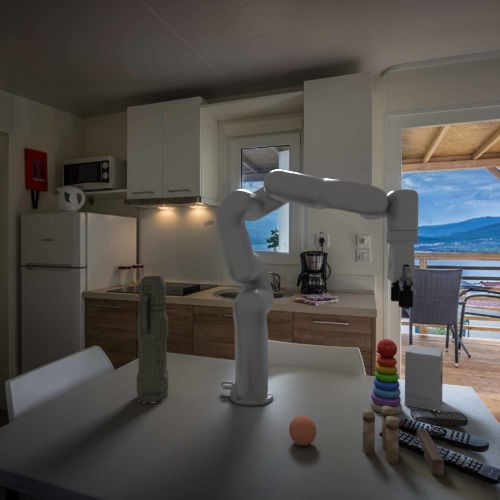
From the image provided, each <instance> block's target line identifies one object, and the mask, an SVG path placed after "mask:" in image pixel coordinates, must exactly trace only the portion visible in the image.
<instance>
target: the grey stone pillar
mask: <svg viewBox="0 0 500 500" xmlns="http://www.w3.org/2000/svg"><path fill="white" fill-rule="evenodd" d="M166 304H167V285H166V283H165V280H164V277H162V276H161V275H148V276H144V277H142V278H141V280H140V283H139V286H138V305H139V308H138V315H137V317H136V340H137V341H138V371H137V376H136V392H137V394H136V396H137V398H136V400H137V399H138V400H139V401H141V402H145V403H151V402H158V401H161V400H163V399H165V398H166V397H167V396H168V397H169V391H168V389H169V372H168V371H169V370H168V367H167V366H168V365H167V357H168V355H167V350H168V349H167V345H168V344H167V341H168V337H169V317H168V314H167V308H166ZM168 397H167V398H168ZM138 400H137V401H138ZM165 400H166V399H165ZM158 403H159V402H158Z"/></svg>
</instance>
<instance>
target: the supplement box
mask: <svg viewBox="0 0 500 500" xmlns="http://www.w3.org/2000/svg"><path fill="white" fill-rule="evenodd" d="M443 352H444V350H443V348H439V347H429V346H424V345H423V346H422V345H416V344H415V345H414V344H410V345H409V346H408V347H407V349H406V350H405V353H404V354H405V355H404V406H409V407H413V408H418V409H422V410H427V411H431V410H435V411H440V412H441V409H442V406H443V374H444V373H443V367H444V366H443V361H444V360H443V359H444V358H443V356H444V353H443ZM435 411H434V412H435Z"/></svg>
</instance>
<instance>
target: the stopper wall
mask: <svg viewBox="0 0 500 500" xmlns="http://www.w3.org/2000/svg"><path fill="white" fill-rule="evenodd" d="M417 438H418V439H419V440H420V443H421V445H422V447H423V450H424V456H423V458H424V460H425V462H426V464H427V466H428V469H429V470H430V472H431V475H432V476H437V477H444V476H445V460H444V458H443V456H442V455H441V453H440V451H439V449H438V447H437V445H436V444H435V442H434V440H433V439H432V437H431V434H430V433H429V432H428V430H427V428H426V429H425V428H416V439H417Z"/></svg>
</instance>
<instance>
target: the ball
mask: <svg viewBox="0 0 500 500" xmlns="http://www.w3.org/2000/svg"><path fill="white" fill-rule="evenodd" d="M288 427H289V428H288V432H289V436H290V438H291V440H292V441H293V442H294V443H295V444H297V445H298V446H302V447H304V446H308V445H311V444H312V443H313V442H314V441H315V439H316V436H317V427H316V424H315V422H314V421H313V420H312V418H310V417H309V416H307V415H303V414H301V415H298V416H297V415H296V416H295V417H294V418H293V419H292V420H291V421H290V423H289V425H288Z"/></svg>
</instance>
